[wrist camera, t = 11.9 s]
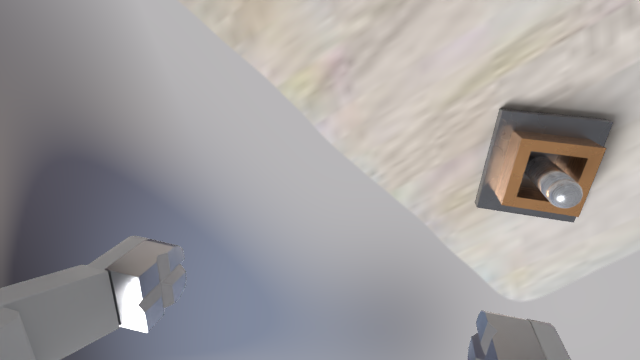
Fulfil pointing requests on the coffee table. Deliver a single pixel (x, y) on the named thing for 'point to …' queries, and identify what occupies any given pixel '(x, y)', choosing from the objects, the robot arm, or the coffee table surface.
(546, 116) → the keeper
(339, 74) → the coffee table surface
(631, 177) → the coffee table surface
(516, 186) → the wooden square frame
